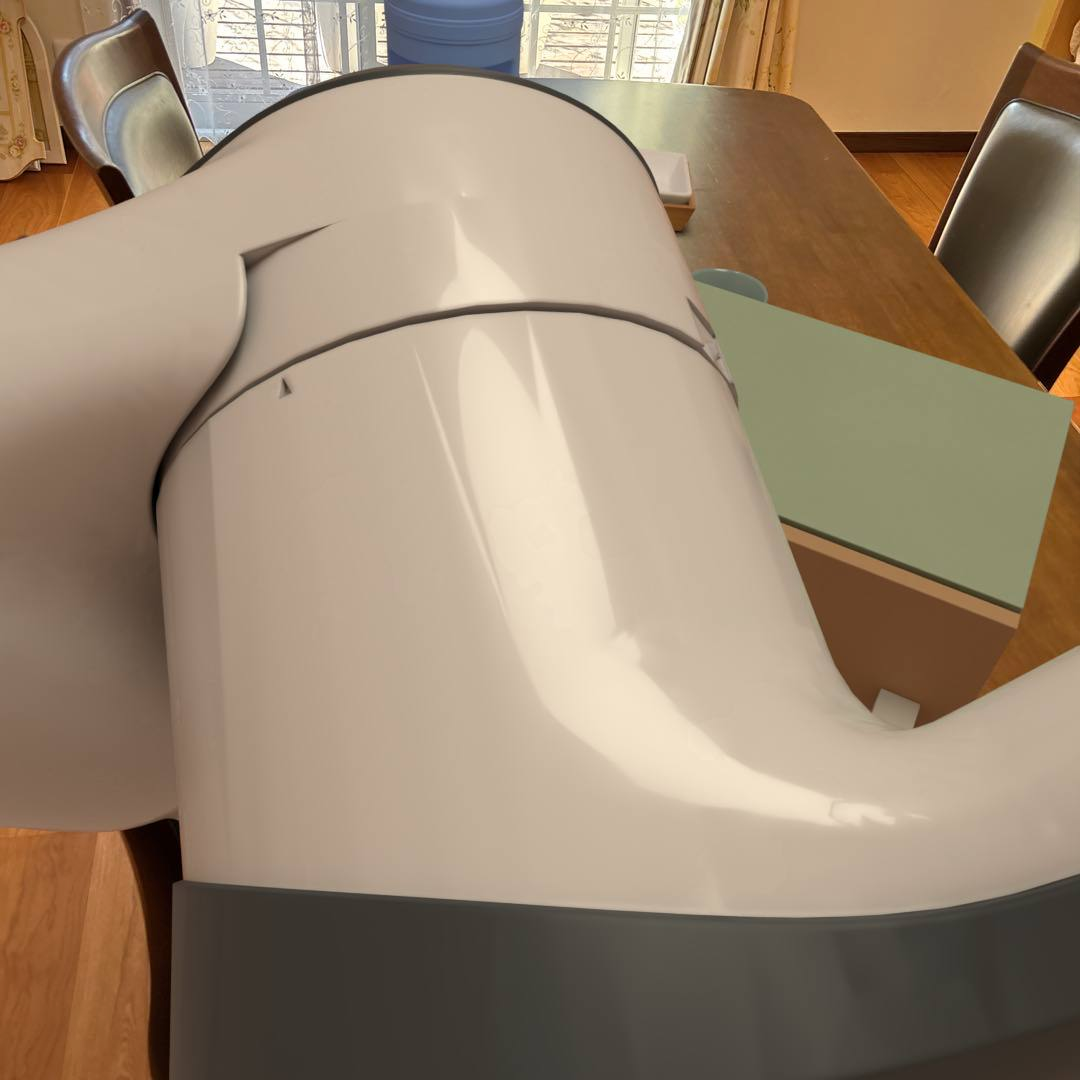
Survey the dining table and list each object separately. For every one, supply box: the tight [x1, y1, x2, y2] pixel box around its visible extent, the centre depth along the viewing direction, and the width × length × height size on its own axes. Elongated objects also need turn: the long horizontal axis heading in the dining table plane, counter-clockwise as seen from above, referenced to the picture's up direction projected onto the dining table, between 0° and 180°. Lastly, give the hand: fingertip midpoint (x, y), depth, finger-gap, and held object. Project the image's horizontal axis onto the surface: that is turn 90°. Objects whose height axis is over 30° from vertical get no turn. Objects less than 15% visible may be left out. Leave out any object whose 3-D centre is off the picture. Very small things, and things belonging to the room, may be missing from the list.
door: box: [780, 522, 1022, 729], centre depth 55 cm, size 7×26×24 cm, turn 62°
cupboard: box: [694, 280, 1076, 615], centre depth 63 cm, size 18×26×24 cm
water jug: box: [383, 0, 525, 78], centre depth 117 cm, size 16×16×28 cm
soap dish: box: [637, 148, 696, 232], centre depth 120 cm, size 12×10×5 cm
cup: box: [691, 267, 769, 304], centre depth 94 cm, size 8×8×10 cm
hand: (578, 738), depth 39 cm, fingers open, 8 cm apart
